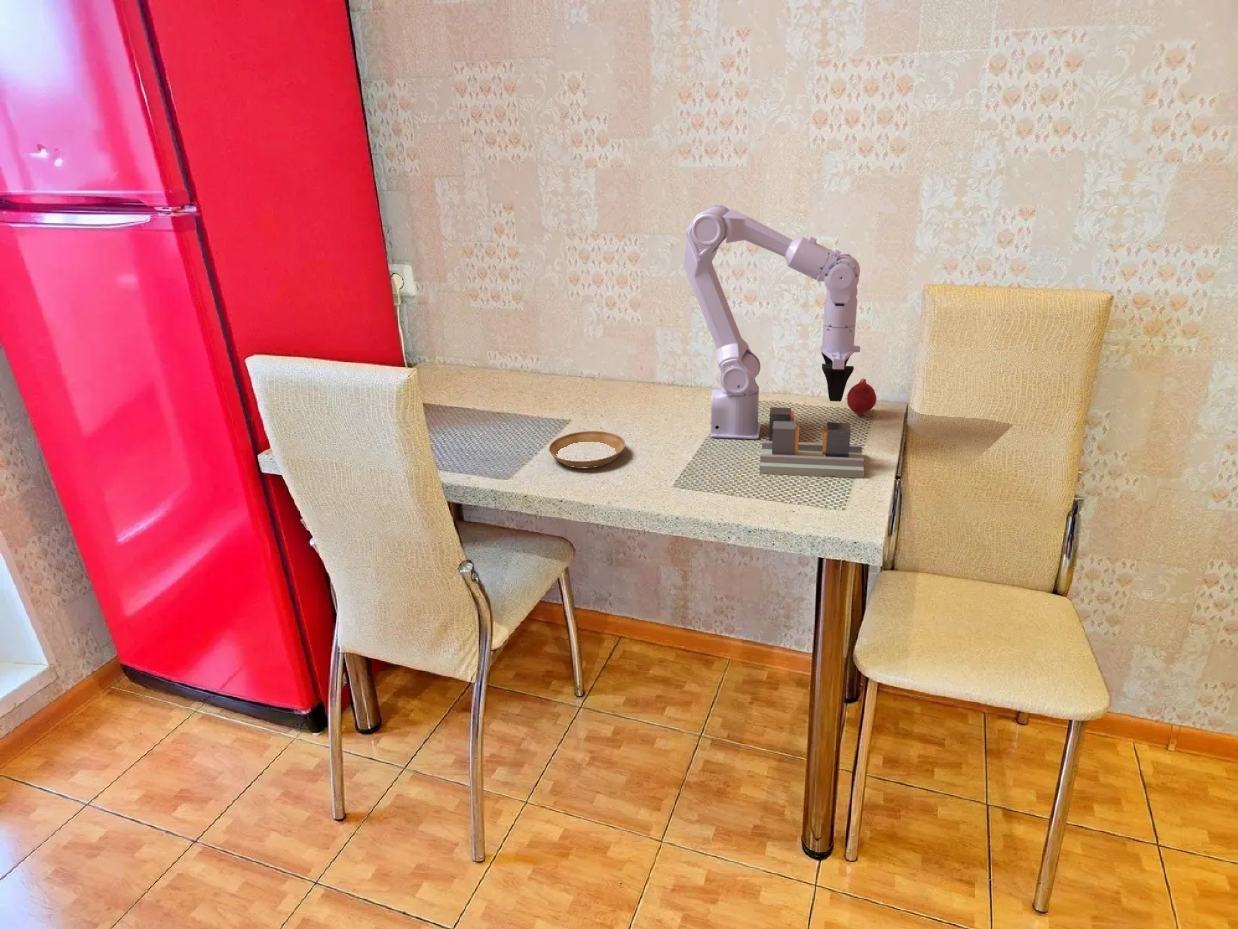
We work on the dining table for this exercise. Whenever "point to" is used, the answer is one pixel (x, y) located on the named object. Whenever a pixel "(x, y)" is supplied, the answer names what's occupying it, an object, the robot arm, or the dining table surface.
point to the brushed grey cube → (836, 440)
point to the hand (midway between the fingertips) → (834, 393)
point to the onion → (861, 398)
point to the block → (779, 417)
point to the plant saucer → (587, 436)
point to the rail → (805, 456)
